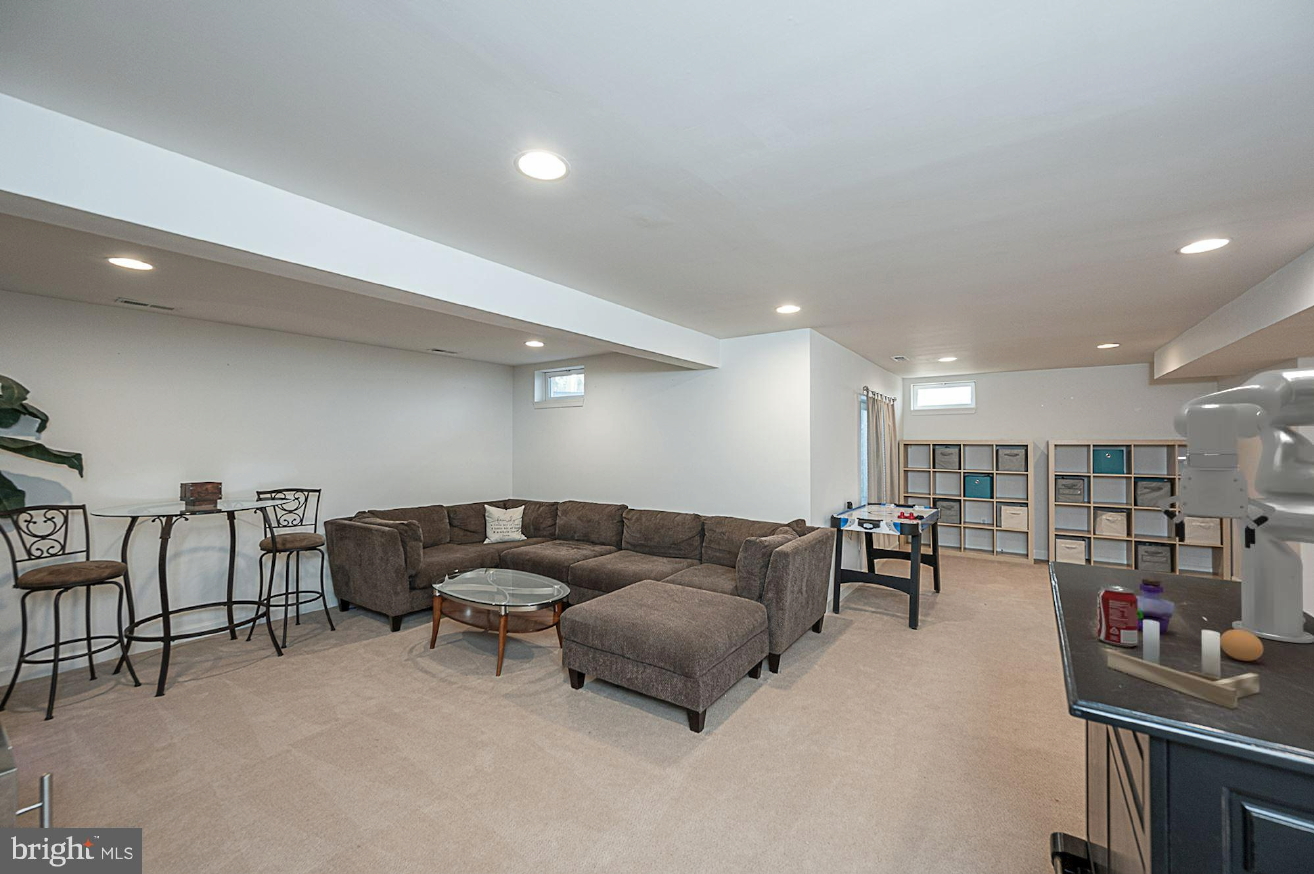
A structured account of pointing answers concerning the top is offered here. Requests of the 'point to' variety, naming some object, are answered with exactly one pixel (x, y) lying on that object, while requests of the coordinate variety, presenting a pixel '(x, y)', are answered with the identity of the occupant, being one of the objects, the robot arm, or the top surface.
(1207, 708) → the top surface
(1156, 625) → the grey pin
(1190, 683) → the wooden t-square
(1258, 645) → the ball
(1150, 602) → the potion bottle
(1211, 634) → the ivory pin
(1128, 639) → the soda can
